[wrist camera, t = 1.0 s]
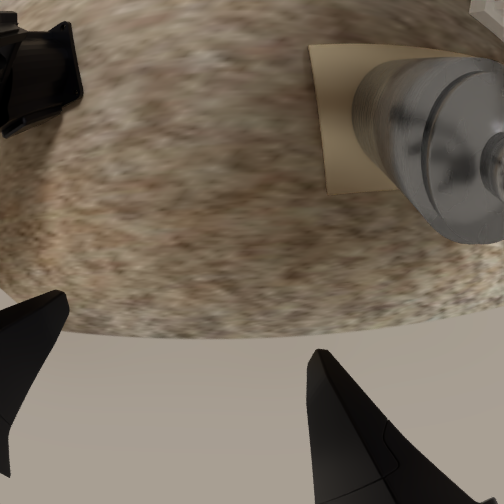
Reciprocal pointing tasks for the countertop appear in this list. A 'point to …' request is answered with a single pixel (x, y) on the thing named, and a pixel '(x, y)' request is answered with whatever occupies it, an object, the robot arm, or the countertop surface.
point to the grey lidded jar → (439, 139)
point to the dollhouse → (489, 15)
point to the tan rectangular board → (340, 109)
